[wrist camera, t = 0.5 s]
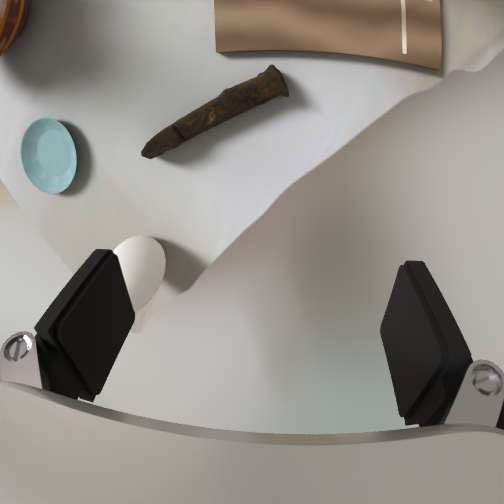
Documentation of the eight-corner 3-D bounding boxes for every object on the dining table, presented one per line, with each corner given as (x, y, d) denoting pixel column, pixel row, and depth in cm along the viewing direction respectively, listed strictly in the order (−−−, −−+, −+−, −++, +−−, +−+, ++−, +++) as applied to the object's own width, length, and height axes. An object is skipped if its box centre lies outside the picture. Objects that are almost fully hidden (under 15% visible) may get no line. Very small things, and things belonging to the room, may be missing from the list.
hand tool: (276, 64, 31) (275, 62, 27) (291, 94, 32) (292, 96, 28) (139, 132, 36) (123, 140, 32) (154, 157, 38) (139, 168, 34)
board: (216, -35, 24) (213, -39, 22) (432, -15, 21) (438, -17, 20) (218, 53, 30) (215, 52, 29) (435, 69, 28) (441, 70, 26)
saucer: (19, 150, 38) (10, 154, 36) (54, 98, 34) (45, 101, 32) (58, 202, 43) (50, 208, 41) (98, 156, 38) (90, 160, 36)
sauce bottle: (181, 235, 43) (132, 326, 28) (168, 275, 48) (125, 366, 32) (132, 215, 42) (65, 294, 27) (123, 256, 46) (68, 338, 31)
